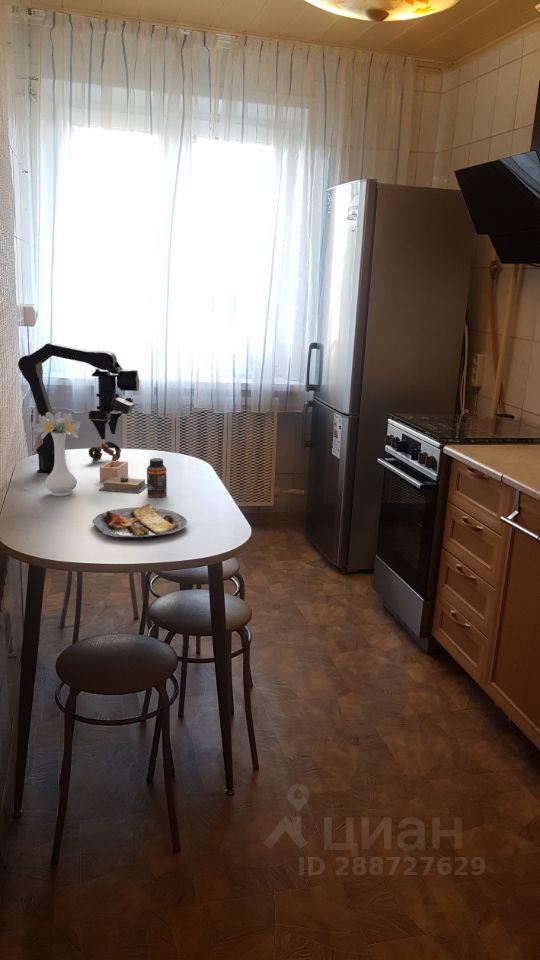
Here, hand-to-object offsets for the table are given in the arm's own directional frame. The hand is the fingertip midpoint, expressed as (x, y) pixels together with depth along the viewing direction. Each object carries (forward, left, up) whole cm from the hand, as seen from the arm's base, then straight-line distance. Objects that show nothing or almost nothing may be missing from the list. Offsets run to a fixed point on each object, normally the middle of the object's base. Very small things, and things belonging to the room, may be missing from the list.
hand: (108, 436), depth 256 cm
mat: (+12, -17, -12) cm, 24 cm away
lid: (+11, -17, -12) cm, 24 cm away
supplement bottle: (+24, -23, -13) cm, 36 cm away
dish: (+4, -6, -12) cm, 14 cm away
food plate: (+29, -54, -13) cm, 63 cm away
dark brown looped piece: (-8, +16, -13) cm, 22 cm away
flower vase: (-5, -28, -13) cm, 31 cm away
